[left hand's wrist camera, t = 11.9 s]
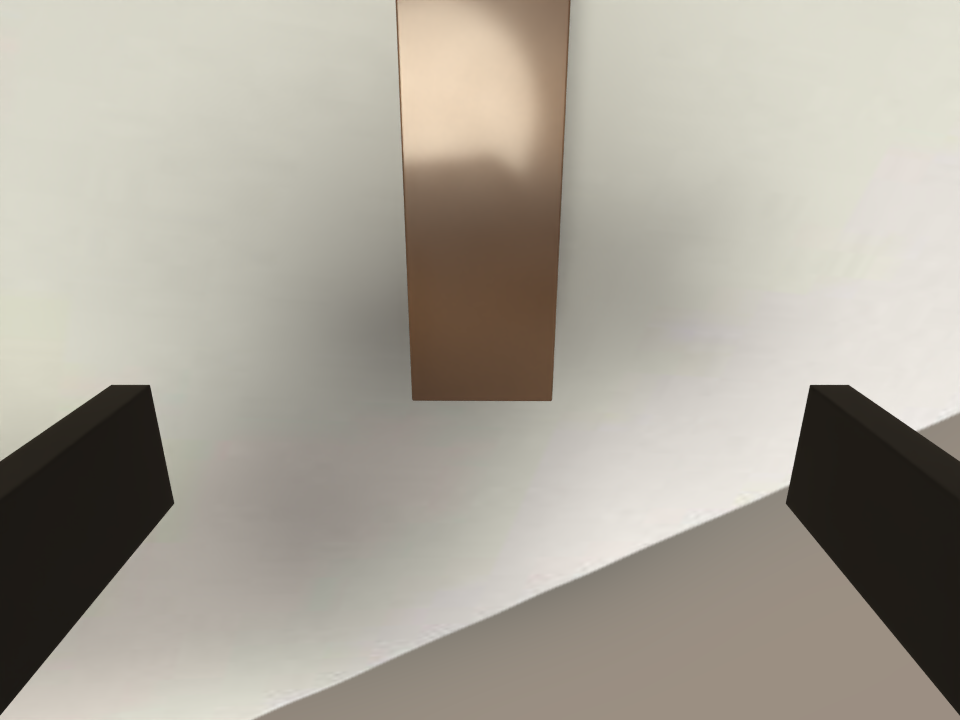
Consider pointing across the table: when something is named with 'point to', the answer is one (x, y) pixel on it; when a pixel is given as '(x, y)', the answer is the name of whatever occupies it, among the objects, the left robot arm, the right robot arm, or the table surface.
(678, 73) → the table surface
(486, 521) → the table surface
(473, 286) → the thick board
